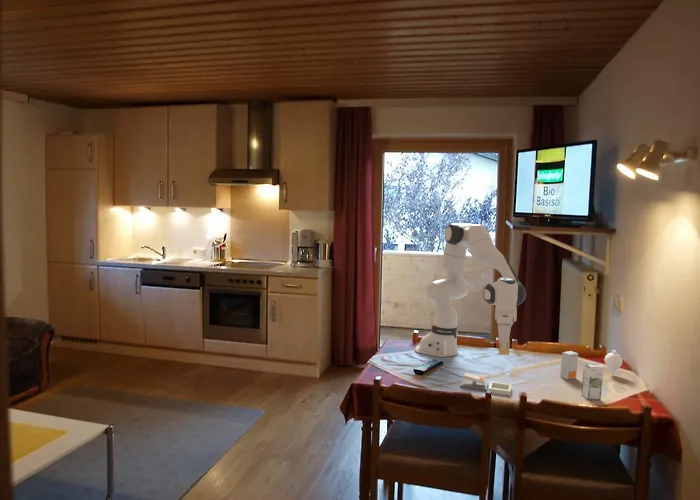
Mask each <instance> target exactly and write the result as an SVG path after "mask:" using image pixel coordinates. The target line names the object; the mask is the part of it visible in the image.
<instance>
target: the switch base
mask: <svg viewBox="0 0 700 500" xmlns="http://www.w3.org/2000/svg"><path fill="white" fill-rule="evenodd" d="M459 386H460V387H459V388H463V389H469V390H475V391H483V392H487V390H488V388H489V383H488V382H485V383H484V384H480V383H477V382H473V381H470V380H467V379H462V381H461V382H460V385H459Z"/></svg>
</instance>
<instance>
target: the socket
mask: <svg viewBox="0 0 700 500" xmlns="http://www.w3.org/2000/svg"><path fill="white" fill-rule="evenodd" d="M512 386H513V385H512V383H511V384H510V383H503V382H498V381H497V382H496V381H490V382H489V384H488V388H487V390H488V391H492V393H491V394H494V395H502V396H506V395H508V396H507V397H511V395H512V389H513V387H512Z"/></svg>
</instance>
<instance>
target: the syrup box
mask: <svg viewBox="0 0 700 500" xmlns="http://www.w3.org/2000/svg"><path fill="white" fill-rule="evenodd" d="M604 368H605V367H604V366H603V365H602V364H600V363H598V362H584V364H583V373H582V383H581V384H582V385H581V396H582V395H583V396H582V397H584V399H586V400H589V401H590V400H591V401H593V400H595V401H596V400H597V401H600V400H601V397H602V389H603V388H602V387H603V379H604Z"/></svg>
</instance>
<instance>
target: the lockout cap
mask: <svg viewBox="0 0 700 500" xmlns="http://www.w3.org/2000/svg"><path fill="white" fill-rule="evenodd" d="M510 342H511V339H510V338H509V341H508V343H507V345H506V350H502V342H499V346H498V347H499V351H498V354H499V355H505V356H509V355H510V345H511V344H510Z"/></svg>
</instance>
